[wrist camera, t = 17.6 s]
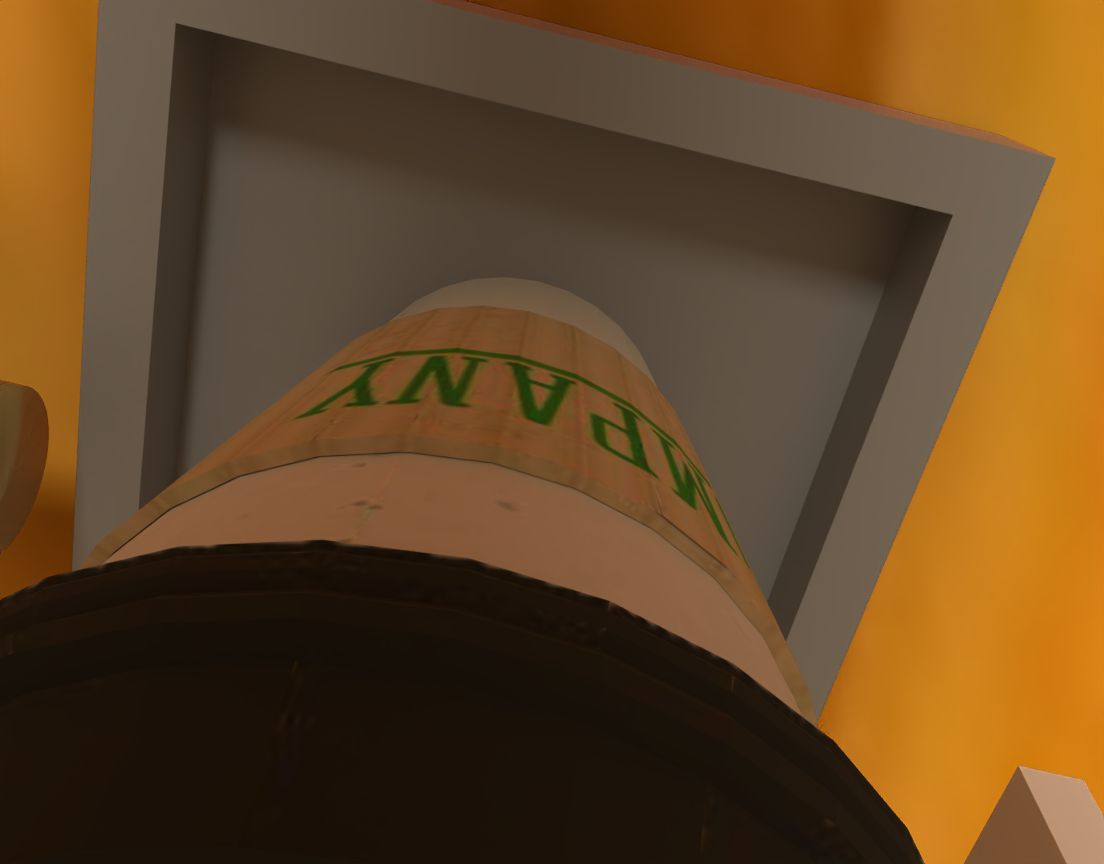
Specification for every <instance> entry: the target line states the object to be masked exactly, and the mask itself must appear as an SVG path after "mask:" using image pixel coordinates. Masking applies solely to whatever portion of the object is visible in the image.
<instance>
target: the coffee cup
mask: <svg viewBox="0 0 1104 864" xmlns="http://www.w3.org/2000/svg"><path fill="white" fill-rule="evenodd" d="M0 864H925V863H924V861H923V859H922V857H921V855H920V853H919V851H918V849H917V847H916V845H915V843H914V841H913V839H912V837H911V835H910V833H909V831H908V829H907V827H906V826H905V825H904V824H903V822H902V821H901V820H900V819H899V818H898V817H897V815H896V814H895V813H894V812H893V811H892V809H891V808H890V807H889V806H888V805H887V803H886V802H885V801H884V800H883V799H882V797H881V796H880V795H879V794H878V793H877V792H876V790H875V789H874V788H873V787H872V786H871V784H870V783H869V782H868V781H867V780H866V778H865V777H864V776H863V775H862V774H861V772H860V771H859V770H858V769H857V768H856V767H855V765H854V764H853V763H852V762H851V761H850V759H849V758H848V757H847V756H846V755H845V753H844V752H843V751H842V750H841V749H840V748H839V746H838V745H837V744H836V743H835V742H834V741H833V740H832V739H831V738H829V737H828V736H827V735H825V734H824V733H823V732H822V731H820V730H819V729H818V726H817V722H816V717H815V713H814V708H813V704H812V700H811V695H810V691H809V689H808V687H807V685H806V683H805V681H804V679H803V677H802V675H801V672H800V670H799V668H798V666H797V664H796V662H795V660H794V658H793V656H792V654H791V651H790V649H789V647H788V645H787V643H786V641H785V639H784V637H783V635H782V633H781V630H780V628H779V626H778V624H777V622H776V620H775V618H774V616H773V614H772V612H771V609H770V607H769V605H768V603H767V601H766V599H765V597H764V595H763V593H762V591H761V588H760V586H759V584H758V582H757V580H756V578H755V576H754V574H753V572H752V570H751V567H750V565H749V563H748V561H747V559H746V557H745V555H744V553H743V551H742V548H741V546H740V544H739V542H738V540H737V538H736V536H735V534H734V532H733V530H732V527H731V525H730V523H729V521H728V519H727V517H726V515H725V513H724V511H723V509H722V506H721V504H720V502H719V500H718V498H717V496H716V494H715V492H714V490H713V488H712V485H711V483H710V481H709V479H708V477H707V475H706V473H705V471H704V469H703V467H702V464H701V462H700V460H699V458H698V456H697V454H696V452H695V450H694V448H693V446H692V444H691V442H690V440H689V438H688V436H687V434H686V432H685V430H684V428H683V426H682V424H681V422H680V420H679V418H678V416H677V414H676V412H675V410H674V409H673V407H672V406H671V405H670V403H669V402H668V401H667V400H666V398H665V397H664V396H663V395H662V393H661V392H660V391H659V390H658V388H657V386H656V383H655V381H654V379H653V377H652V375H651V373H650V371H649V369H648V367H647V365H646V363H645V361H644V359H643V357H642V355H641V353H640V351H639V350H638V348H637V347H636V346H635V345H634V343H633V342H632V341H631V340H630V338H629V337H628V336H627V335H626V333H625V332H624V331H623V329H622V328H621V327H620V326H619V325H618V324H616V323H615V322H614V321H613V320H612V319H610V318H609V317H608V316H607V315H606V314H605V313H603V312H602V311H601V310H600V309H599V308H597V307H596V306H594V305H593V304H591V303H589V302H587V301H585V300H584V299H582V298H580V297H578V296H576V295H575V294H573V293H571V292H569V291H567V290H564V289H560V288H557V287H554V286H551V285H548V284H545V283H542V282H539V281H533V280H525V279H518V278H510V277H498V278H482V279H472V280H468V281H464V282H461V283H457V284H453V285H449V286H446V287H442V288H440V289H438V290H436V291H434V292H432V293H430V294H428V295H426V296H424V297H422V298H420V299H418V300H416V301H415V302H413V303H412V304H411V305H410V306H408V307H407V308H406V309H405V310H403V311H402V312H401V313H399V314H398V315H397V316H396V317H394V318H393V319H392V320H391V321H389V322H388V323H387V324H385V325H383V326H381V327H379V328H377V329H375V330H373V331H371V332H369V333H367V334H365V335H363V336H361V337H358V338H356V339H355V340H353V341H352V342H351V343H350V344H348V345H347V346H346V347H345V348H343V349H342V350H341V351H339V352H338V353H337V354H336V355H334V356H333V357H332V358H331V359H329V360H328V361H327V362H326V363H324V364H323V365H322V366H321V367H319V368H318V369H317V370H315V371H314V372H313V373H312V374H310V375H309V376H308V377H307V378H305V379H304V380H303V381H302V382H300V383H299V384H298V385H297V386H295V387H294V388H293V389H291V390H290V391H289V392H288V393H286V394H285V395H284V396H283V397H281V398H280V399H279V400H278V401H276V402H275V403H274V404H272V405H271V406H270V407H269V408H267V409H266V410H265V411H264V412H262V413H261V414H260V415H259V416H257V417H256V418H255V419H254V420H252V421H251V422H250V423H248V424H247V425H246V426H245V427H243V428H242V429H241V430H240V431H238V432H237V433H236V434H235V435H233V436H232V437H231V438H230V439H228V440H227V441H226V442H224V443H223V444H222V445H221V446H219V447H218V448H217V449H216V450H214V451H213V452H212V453H211V454H209V455H208V456H207V457H206V458H204V459H203V460H202V461H200V462H199V463H198V464H197V465H195V466H194V467H193V468H192V469H190V470H189V471H188V472H187V473H185V474H184V475H183V476H181V477H180V478H179V479H178V480H176V481H175V482H174V483H173V484H171V485H170V486H169V487H168V488H166V489H165V490H164V491H163V492H161V493H160V494H159V495H157V496H156V497H155V498H154V499H152V500H151V501H150V502H149V503H147V504H146V505H145V506H144V507H142V508H141V509H140V510H139V511H137V512H136V513H135V514H133V515H132V516H131V517H130V518H128V519H127V520H126V521H125V522H123V523H122V524H121V525H120V526H118V527H117V528H116V529H115V530H113V531H112V532H111V533H110V534H108V535H107V536H106V537H104V538H103V539H102V540H101V541H99V543H98V544H97V545H96V546H95V548H94V549H93V550H92V552H91V553H90V554H89V555H88V557H87V558H86V559H85V561H84V562H83V563H82V565H81V566H80V567H79V568H78V570H76V571H72V572H67V573H63V574H59V575H55V576H51V577H48V578H45V579H43V580H41V581H39V582H37V583H35V584H33V585H31V586H29V587H26V588H24V589H22V590H20V591H18V592H16V593H14V594H12V595H9V596H7V597H5V598H3V599H1V600H0Z"/></svg>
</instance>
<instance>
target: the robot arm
mask: <svg viewBox="0 0 1104 864" xmlns="http://www.w3.org/2000/svg"><path fill="white" fill-rule="evenodd" d="M964 864H1104V816H1103V814H1102V812H1101V810H1100V809H1099V807H1098V805H1097V803H1096V801H1095V800H1094V798H1093V796H1092V794H1091V792H1090V791H1089V789H1088V787H1087V785H1086V784H1085V782H1084V780H1081V779H1076V778H1072V777H1067V776H1063V775H1058V774H1054V773H1049V772H1045V771H1040V770H1036V769H1031V768H1027V767H1022V766H1018V768H1017V769H1016V771H1015V773H1014V775H1013V777H1012V778H1011V780H1010V782H1009V784H1008V786H1007V787H1006V789H1005V791H1004V793H1003V795H1002V796H1001V798H1000V800H999V802H998V803H997V805H996V807H995V809H994V811H993V812H992V814H991V816H990V818H989V820H988V821H987V823H986V825H985V827H984V829H983V830H982V832H981V834H980V836H979V838H978V839H977V841H976V843H975V845H974V847H973V848H972V850H971V852H970V854H969V855H968V857H967V859H966V861H965V863H964Z"/></svg>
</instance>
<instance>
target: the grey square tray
mask: <svg viewBox="0 0 1104 864" xmlns="http://www.w3.org/2000/svg"><path fill="white" fill-rule="evenodd" d="M1055 159H1056V158H1054V157H1051V156H1049V155H1046V154H1044V153H1042V152H1039V151H1037V150H1035V149H1032V148H1030V147H1027V146H1025V145H1023V144H1020V143H1018V142H1015V141H1013V140H1011V139H1008V138H1006V137H1004V136H1001V135H997V134H993V133H989V132H985V131H981V130H977V129H973V128H969V127H965V126H961V125H957V124H953V123H949V122H945V121H941V120H937V119H933V118H929V117H925V116H922V115H918V114H914V113H910V112H906V111H902V110H898V109H894V108H890V107H886V106H882V105H878V104H874V103H870V102H866V101H862V100H858V99H854V98H850V97H846V96H842V95H838V94H834V93H830V92H826V91H822V90H818V89H814V88H810V87H806V86H802V85H798V84H794V83H790V82H786V81H782V80H778V79H774V78H770V77H766V76H762V75H758V74H754V73H750V72H746V71H742V70H738V69H734V68H730V67H726V66H722V65H718V64H714V63H710V62H706V61H702V60H698V59H694V58H690V57H686V56H682V55H678V54H674V53H670V52H666V51H663V50H659V49H655V48H651V47H647V46H643V45H639V44H635V43H631V42H627V41H623V40H619V39H615V38H611V37H607V36H603V35H599V34H595V33H591V32H587V31H583V30H579V29H575V28H571V27H567V26H563V25H559V24H555V23H551V22H547V21H543V20H539V19H535V18H531V17H527V16H523V15H519V14H515V13H511V12H507V11H503V10H499V9H495V8H491V7H487V6H483V5H479V4H475V3H471V2H467V1H463V0H99V8H98V29H97V50H96V71H95V92H94V113H93V134H92V155H91V176H90V197H89V218H88V239H87V261H86V282H85V303H84V324H83V345H82V366H81V387H80V408H79V429H78V450H77V471H76V492H75V513H74V534H73V555H72V571H76V570H78V568H79V567H80V566H81V565H82V563H83V562H84V561H85V559H86V558H87V557H88V555H89V554H90V553H91V552H92V550H93V549H94V548H95V546H96V545H97V544H98V543H99V541H101V540H102V539H103V538H104V537H106V536H107V535H108V534H110V533H111V532H112V531H113V530H115V529H116V528H117V527H118V526H120V525H121V524H122V523H123V522H125V521H126V520H127V519H128V518H130V517H131V516H132V515H133V514H135V513H136V512H137V511H139V510H140V509H141V508H142V507H144V506H145V505H146V504H147V503H149V502H150V501H151V500H152V499H154V498H155V497H156V496H157V495H159V494H160V493H161V492H163V491H164V490H165V489H166V488H168V487H169V486H170V485H171V484H173V483H174V482H175V481H176V480H178V479H179V478H180V477H181V476H183V475H184V474H185V473H187V472H188V471H189V470H190V469H192V468H193V467H194V466H195V465H197V464H198V463H199V462H200V461H202V460H203V459H204V458H206V457H207V456H208V455H209V454H211V453H212V452H213V451H214V450H216V449H217V448H218V447H219V446H221V445H222V444H223V443H224V442H226V441H227V440H228V439H230V438H231V437H232V436H233V435H235V434H236V433H237V432H238V431H240V430H241V429H242V428H243V427H245V426H246V425H247V424H248V423H250V422H251V421H252V420H254V419H255V418H256V417H257V416H259V415H260V414H261V413H262V412H264V411H265V410H266V409H267V408H269V407H270V406H271V405H272V404H274V403H275V402H276V401H278V400H279V399H280V398H281V397H283V396H284V395H285V394H286V393H288V392H289V391H290V390H291V389H293V388H294V387H295V386H297V385H298V384H299V383H300V382H302V381H303V380H304V379H305V378H307V377H308V376H309V375H310V374H312V373H313V372H314V371H315V370H317V369H318V368H319V367H321V366H322V365H323V364H324V363H326V362H327V361H328V360H329V359H331V358H332V357H333V356H334V355H336V354H337V353H338V352H339V351H341V350H342V349H343V348H345V347H346V346H347V345H348V344H350V343H351V342H352V341H353V340H355V339H356V338H358V337H361V336H363V335H365V334H367V333H369V332H371V331H373V330H375V329H377V328H379V327H381V326H383V325H385V324H387V323H388V322H389V321H391V320H392V319H393V318H394V317H396V316H397V315H398V314H399V313H401V312H402V311H403V310H405V309H406V308H407V307H408V306H410V305H411V304H412V303H413V302H415V301H416V300H418V299H420V298H422V297H424V296H426V295H428V294H430V293H432V292H434V291H436V290H438V289H440V288H442V287H446V286H449V285H453V284H457V283H461V282H464V281H468V280H472V279H482V278H498V277H510V278H518V279H525V280H533V281H539V282H542V283H545V284H548V285H551V286H554V287H557V288H560V289H564V290H567V291H569V292H571V293H573V294H575V295H576V296H578V297H580V298H582V299H584V300H585V301H587V302H589V303H591V304H593V305H594V306H596V307H597V308H599V309H600V310H601V311H602V312H603V313H605V314H606V315H607V316H608V317H609V318H610V319H612V320H613V321H614V322H615V323H616V324H618V325H619V326H620V327H621V328H622V329H623V331H624V332H625V333H626V335H627V336H628V337H629V338H630V340H631V341H632V342H633V343H634V345H635V346H636V347H637V348H638V350H639V351H640V353H641V355H642V357H643V359H644V361H645V363H646V365H647V367H648V369H649V371H650V373H651V375H652V377H653V379H654V381H655V383H656V386H657V388H658V390H659V391H660V392H661V393H662V395H663V396H664V397H665V398H666V400H667V401H668V402H669V403H670V405H671V406H672V407H673V409H674V410H675V412H676V414H677V416H678V418H679V420H680V422H681V424H682V426H683V428H684V430H685V432H686V434H687V436H688V438H689V440H690V442H691V444H692V446H693V448H694V450H695V452H696V454H697V456H698V458H699V460H700V462H701V464H702V467H703V469H704V471H705V473H706V475H707V477H708V479H709V481H710V483H711V485H712V488H713V490H714V492H715V494H716V496H717V498H718V500H719V502H720V504H721V506H722V509H723V511H724V513H725V515H726V517H727V519H728V521H729V523H730V525H731V527H732V530H733V532H734V534H735V536H736V538H737V540H738V542H739V544H740V546H741V548H742V551H743V553H744V555H745V557H746V559H747V561H748V563H749V565H750V567H751V570H752V572H753V574H754V576H755V578H756V580H757V582H758V584H759V586H760V588H761V591H762V593H763V595H764V597H765V599H766V601H767V603H768V605H769V607H770V609H771V612H772V614H773V616H774V618H775V620H776V622H777V624H778V626H779V628H780V630H781V633H782V635H783V637H784V639H785V641H786V643H787V645H788V647H789V649H790V651H791V654H792V656H793V658H794V660H795V662H796V664H797V666H798V668H799V670H800V672H801V675H802V677H803V679H804V681H805V683H806V685H807V687H808V689H809V691H810V695H811V700H812V704H813V708H814V713H815V717H816V722H818V719H819V717H820V715H821V712H822V710H823V707H824V705H825V703H826V700H827V698H828V696H829V693H830V691H831V689H832V686H833V684H834V681H835V679H836V677H837V674H838V672H839V670H840V667H841V665H842V663H843V660H844V658H845V655H846V653H847V651H848V648H849V646H850V644H851V641H852V639H853V637H854V634H855V632H856V629H857V627H858V625H859V622H860V620H861V618H862V615H863V613H864V611H865V608H866V606H867V603H868V601H869V599H870V596H871V594H872V592H873V589H874V587H875V585H876V582H877V580H878V577H879V575H880V573H881V570H882V568H883V566H884V563H885V561H886V559H887V556H888V554H889V551H890V549H891V547H892V544H893V542H894V540H895V537H896V535H897V533H898V530H899V528H900V525H901V523H902V521H903V518H904V516H905V514H906V511H907V509H908V507H909V504H910V502H911V499H912V497H913V495H914V492H915V490H916V488H917V485H918V483H919V481H920V478H921V476H922V473H923V471H924V469H925V466H926V464H927V462H928V459H929V457H930V455H931V452H932V450H933V447H934V445H935V443H936V440H937V438H938V436H939V433H940V431H941V429H942V426H943V424H944V421H945V419H946V417H947V414H948V412H949V410H950V407H951V405H952V403H953V400H954V398H955V395H956V393H957V391H958V388H959V386H960V384H961V381H962V379H963V377H964V374H965V372H966V369H967V367H968V365H969V362H970V360H971V358H972V355H973V353H974V351H975V348H976V346H977V343H978V341H979V339H980V336H981V334H982V332H983V329H984V327H985V324H986V322H987V320H988V317H989V315H990V313H991V310H992V308H993V306H994V303H995V301H996V298H997V296H998V294H999V291H1000V289H1001V287H1002V284H1003V282H1004V280H1005V277H1006V275H1007V272H1008V270H1009V268H1010V265H1011V263H1012V261H1013V258H1014V256H1015V254H1016V251H1017V249H1018V246H1019V244H1020V242H1021V239H1022V237H1023V235H1024V232H1025V230H1026V228H1027V225H1028V223H1029V220H1030V218H1031V216H1032V213H1033V211H1034V209H1035V206H1036V204H1037V202H1038V199H1039V197H1040V194H1041V192H1042V190H1043V187H1044V185H1045V183H1046V180H1047V178H1048V176H1049V173H1050V171H1051V168H1052V166H1053V164H1054V161H1055Z"/></svg>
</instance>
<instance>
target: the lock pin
mask: <svg viewBox="0 0 1104 864" xmlns="http://www.w3.org/2000/svg"><path fill="white" fill-rule="evenodd" d="M48 440H49V427H48V417H47V412H46V408H45V405H44V402H43V400H42V398H41V397H40V395H39V394H38V393H37V392H36V391H35V390H34V389H32V388H30V387H28V386H24V385H19V384H15V383H11V382H6V381H2V380H0V554H1V553H2V552H3V551H4V550H5V549H6V548H7V547H8V546H9V545H10V543H11V542H12V541H13V540H14V538H15V537H16V535H17V534H18V532H19V531H20V529H21V528H22V526H23V524H24V522H25V521H26V519H27V517H28V515H29V513H30V511H31V508H32V506H33V504H34V501H35V499H36V496H37V493H38V490H39V487H40V484H41V481H42V477H43V473H44V469H45V464H46V459H47V451H48Z"/></svg>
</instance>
